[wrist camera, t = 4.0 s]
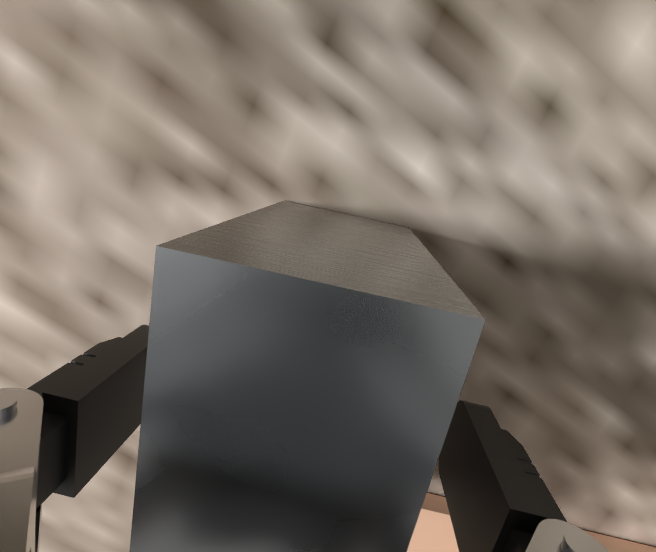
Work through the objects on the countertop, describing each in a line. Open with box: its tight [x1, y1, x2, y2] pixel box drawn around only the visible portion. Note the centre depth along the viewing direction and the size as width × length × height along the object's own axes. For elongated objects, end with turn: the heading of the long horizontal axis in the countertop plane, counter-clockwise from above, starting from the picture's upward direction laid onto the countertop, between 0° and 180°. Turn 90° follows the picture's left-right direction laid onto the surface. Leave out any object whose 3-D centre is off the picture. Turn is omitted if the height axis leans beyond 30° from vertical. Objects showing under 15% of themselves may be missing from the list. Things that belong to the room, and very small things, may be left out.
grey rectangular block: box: [130, 201, 486, 552], centre depth 10 cm, size 9×4×8 cm, turn 168°
